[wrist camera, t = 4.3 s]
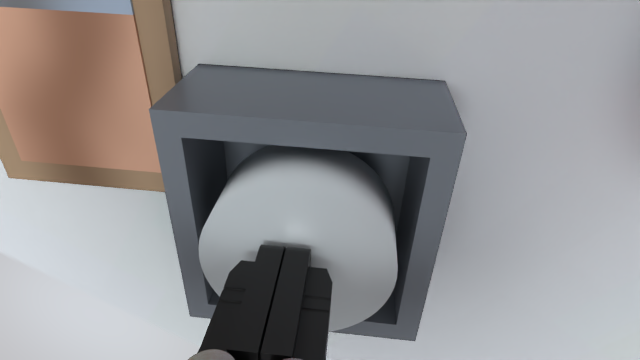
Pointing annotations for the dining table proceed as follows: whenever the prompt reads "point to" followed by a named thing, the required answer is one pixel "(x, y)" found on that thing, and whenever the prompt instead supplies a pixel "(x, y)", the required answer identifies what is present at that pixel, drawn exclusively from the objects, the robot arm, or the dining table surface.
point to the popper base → (321, 133)
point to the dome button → (308, 224)
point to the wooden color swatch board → (84, 89)
